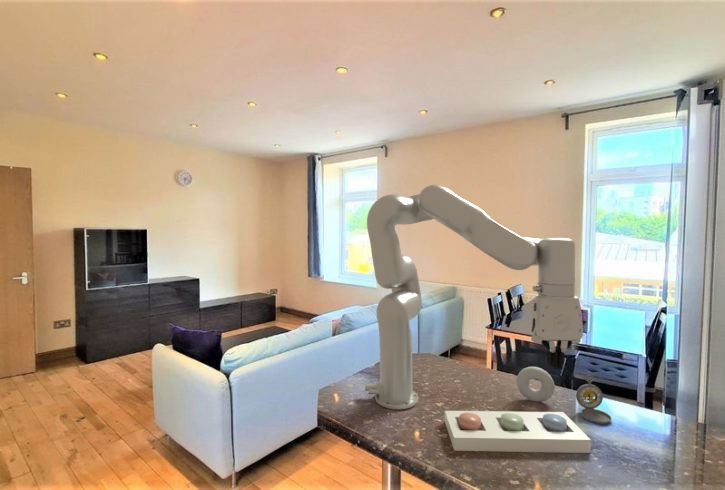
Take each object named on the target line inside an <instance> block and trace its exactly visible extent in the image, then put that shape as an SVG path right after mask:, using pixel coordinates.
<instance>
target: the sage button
mask: <svg viewBox="0 0 725 490" xmlns="http://www.w3.org/2000/svg"><path fill="white" fill-rule="evenodd" d="M501 426H502V428H503V430H504V431H523V418H522V417H520V416H519V415H516V414H512V413H505V414H502V415H501Z"/></svg>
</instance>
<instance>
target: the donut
mask: <svg viewBox="0 0 725 490" xmlns="http://www.w3.org/2000/svg"><path fill="white" fill-rule="evenodd" d="M534 379H535V380H538V382H540V383H541V386H540V388H538V389H535V388H532V387H531V385H530V381H531V380H534ZM516 386H517V389H518V391H519V393H520V394H521V395H522V396H523V397H524V398H525V399H527V400H528V401H532V402H535V403H542V402H546V401H548V400H549V399H551V398H552V396H553V394H554V392H555V388H556V387H555V386H556V385H555V382H554V379H553V378H552V375H551V374H549V372H547V371H546V370H544V369H543V368H541V367H538V366H528V367H524V368H522V369H521V370H520V371H519V373H518V375H517V377H516Z"/></svg>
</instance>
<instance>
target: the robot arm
mask: <svg viewBox="0 0 725 490" xmlns="http://www.w3.org/2000/svg"><path fill="white" fill-rule="evenodd" d="M430 220H435V221H436V222H437V223H440V224H441V225H443V226H445V227H446V228H448V229H449V230H451V231H453V232H455V234H457V235H459V236H461V237H462V239H464V240H466V241H467V242H469V244H471V245H473V246H474V247H475V248H476V249H478V250H480V251H481V252H482V253H484V254H485V255H488V256H489V257H490V258H492V259H493V260H495V261H497V262H499V263H500V264H501V265H504V266H505V267H506V268H509V269H511V270H515V271H525V270H527V269H529V268H530V267H535V266H536V267H538V276H537V278H538V280H537V281H538V282H537V284H536V285H533V286H532V291H533V292H537V294H535V297H534V301H533V304H532V314H531V322H530V323H531V325H530V326H531V328H530V329H531V333H532V336H531V339H530V340H531V341H532V343H535V344H539V345H542V346H543V347H544V348H545V349H546V351H547V352H546V354H547V355H546V362H547V364H548V366H550V367H551V368H552V369H553V370H557V369H558V370H563V368H564V367H563V366H564V364H565V353H566V352H567V351H568V349H569V347H571V346H572V345H576V344H579V343H581V340H582V338H583V336H584V325H583V323H584V322H583V313H582V308H581V302H580V298H579V296H576V295H575V292H576V291H575V289H576V288H575V287H576V286H575V283H576V280H575V279H576V243H575V241H574V240H573V239H572V238H566V237H550V238H549V237H546V238H535V237H525V236H524V237H523V236H520V235H519V234H517V233H515V232H513V231H512V230H510V229H508V228H506V227H504V226H503V225H501V224H499V223H498V222H496V221H495V220H494V219H493V218H491V217H490V216H489V215H488V214H487V213H486V212H485V211H484V210H483V209H481V208H480V207H478V206H477V205H475V204H473V203H471V202H470V201H467V200H466V199H464V198H462V197H461V196H459V195H458V194H455V192H454V191H453V190H451V189H449V188H448V187H444V186H442V185H438V184H430V185H427V186H425V187H423V189H422V190H421V191H420V193H419V194H414V195H410V196H404V195H400V194H395V193H394V194H392V193H391V194H386V195H384V196H382V197H380V198H378V199H377V200H376V201H375V202H374V203H373V204H372V205H371V206H370V208H369V211H368V214H367V219H366V227H367V234H368V238H369V244H370V251H371V257H372V264H373V271H374V276H375V280H376V282H377V284H378V285H379V286H380V287H381V288H383V289H387V290H389V289H391V292H390V293H388V294H386V295H384V296H383V297H382V298H381V299H380V300H379V302H378V303H377V307H376V319H377V325H378V332H379V334H378V336H379V380H378V383H377V382H376V383H375V384H370V383H369V384H368V383H366V384H364V386H365V387H364V391H365V392H368V394H369V395H374V400H375V402H376V403H377V404H378V405H380V406H381V407H383V408H386V409H390V410H405V409H406V410H407V409H410V408H413V407H414V406H416V405H417V404H418V402H419V395H418V393H417V392H416V391H415V390H413V337H412V331H411V325H410V321H411V320H412V319H414V318H415V317H416V316H417V315H419V313H420V312H421V310H422V305H423V301H422V293H421V287H420V280H419V276H418V271H417V270H418V269H417V266H416V263H414V261H413V259H412V258H411V257H409V256H407V255H406V254H402V252H401V246H400V245H401V244H400V240H399V236H398V234H397V231H396V229H395V228H396V226H397V225H402V226H403V225H412V224H417V223H422V222H426V221H430Z"/></svg>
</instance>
